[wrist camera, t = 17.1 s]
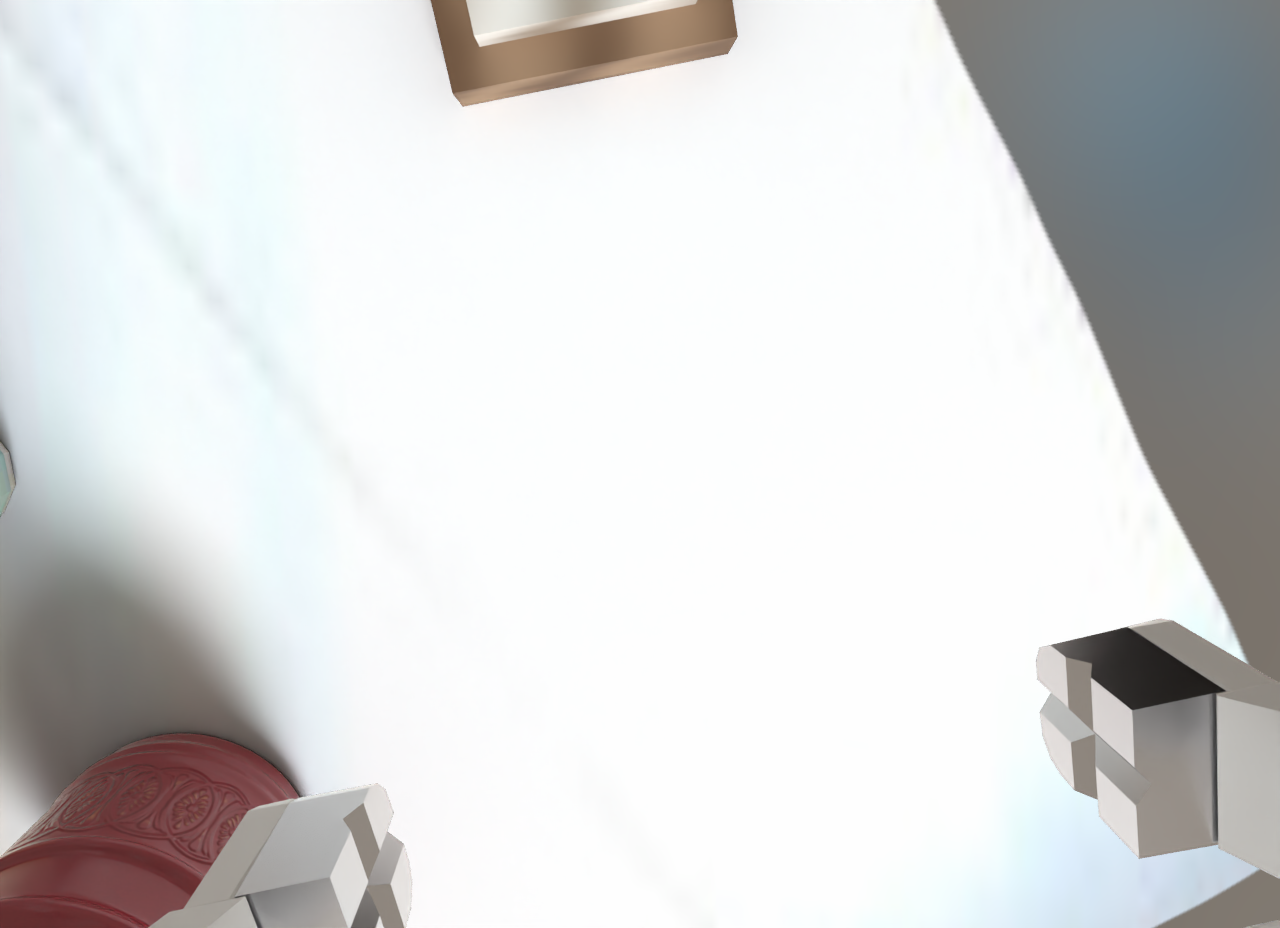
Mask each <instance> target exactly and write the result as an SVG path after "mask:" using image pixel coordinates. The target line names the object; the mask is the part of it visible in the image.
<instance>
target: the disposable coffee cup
mask: <svg viewBox="0 0 1280 928" xmlns="http://www.w3.org/2000/svg"><path fill="white" fill-rule="evenodd" d="M15 485H16V483H15V479H14V474H13V469H12V464H11V460H10V455H9V452H8V450H7V449H6V448H5V447H4V446H3V444H2V443H1V442H0V517H1V514H3V513H4V511H5V509H6V507H7V504H8V502H9V499H10V497H11V495H12V492H13V490H14V488H15Z"/></svg>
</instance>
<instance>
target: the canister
mask: <svg viewBox="0 0 1280 928" xmlns="http://www.w3.org/2000/svg"><path fill="white" fill-rule="evenodd" d="M298 798H299V796H298V794H297V793H296V791H295V790H294V788H293V787H292V785H291V784H290V783H289V782H288V780H287V779H286V778H285V777H284V776H283V775H282V774H281V773H280V772H279V771H278V770H277V769H276V768H275V767H274V766H272V765H271V764H270V763H269V762H267V761H266V760H265V759H263V758H262V757H260V756H259V755H257V754H255V753H254V752H252V751H250V750H248V749H246V748H244V747H242V746H240V745H237V744H235V743H232V742H229V741H227V740H223V739H220V738H216V737H211V736H206V735H199V734H188V733H176V734H164V735H157V736H152V737H148V738H144V739H141V740H138V741H135V742H132V743H130V744H128V745H126V746H124V747H122V748H120V749H118V750H116V751H115V752H113V753H112V754H110V755H109V756H107V757H105V758H103V759H101V760H99V761H98V762H96V763H95V764H93V765H92V766H90V767H89V768H88V769H86V770H85V771H84V772H82V773H81V774H80V775H79V776H78V777H77V778H76V779H75V780H74V781H73V782H72V783H71V784H70V785H69V786H67V787H66V788H65V789H64V790H63V792H62V793H61V794H60V795H59V796H58V798H57V799H56V800H55V802H54V803H53V804H52V806H51V808H50V809H49V810H48V811H47V812H46V813H45V814H44V815H43V816H42V817H41V818H40V819H39V820H38V821H37V822H36V823H35V824H34V825H33V826H32V827H31V828H30V829H29V830H28V831H27V832H26V833H24V834H23V835H22V836H21V837H20V838H19V839H18V840H17V841H16V842H15V843H14V844H13V845H12V846H11V847H10V848H9V849H8V850H7V851H6V852H5V853H4V854H3V855H2V856H1V857H0V928H148V927H150V926H151V925H152V924H154V923H155V922H156V921H158V920H159V919H160V918H162V917H163V916H164V915H166V914H167V913H168V912H171V911H176V910H180V909H183V908H184V907H185V905H186V904H187V902H188V901H189V899H190V898H191V896H192V895H193V893H194V892H195V890H196V889H197V887H198V886H199V884H200V883H201V881H202V880H203V878H204V877H205V875H206V874H207V872H208V871H209V869H210V868H211V866H212V865H213V863H214V862H215V860H216V859H217V857H218V856H219V854H220V853H221V851H222V850H223V848H224V846H225V845H226V843H227V842H228V840H229V839H230V837H231V836H232V834H233V833H234V831H235V830H236V828H237V827H238V825H239V824H240V822H241V821H242V819H243V818H244V816H245V815H246V813H247V812H248V811H249V810H251V809H253V808H256V807H258V806H261V805H266V804H270V803H275V802H279V801H284V800H288V799H298Z"/></svg>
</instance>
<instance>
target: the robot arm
mask: <svg viewBox="0 0 1280 928" xmlns="http://www.w3.org/2000/svg"><path fill="white" fill-rule="evenodd" d="M1036 666H1037V679H1038V680H1039V681H1040V682H1041V683H1042V684H1043V685H1044V686H1045V687H1046V688H1047V689H1048V690H1049V691H1050V692H1051V694H1050V695H1049V697H1048V699H1047V700H1046V702H1045V704H1044V706H1043V707H1042V709H1041V711H1040V717H1041V726H1042V735H1043V739H1044V741H1045V744H1046V747H1047V749H1048V752H1049V755H1050V758H1051V760H1052V761H1053V763H1054V765H1055V766H1056V768H1057V770H1058V771H1059V773H1060V774H1061V776H1062V777H1063V778H1064V779H1065V780H1066V781H1067V782H1068V784H1069V785H1070V786H1071V787H1072V788H1073V789H1074V790H1075V791H1078V792H1080V793H1083V794H1085V795H1088V796H1090V797H1093V798H1095V799H1098V809H1099V817H1100V818H1101V819H1102V820H1103V821H1104V822H1105V823H1106V824H1107V825H1108V826H1109V827H1110V829H1111V830H1112V831H1113V832H1114V833H1115V834H1116V835H1117V836H1118V837H1119V838H1120V839H1121V840H1122V841H1123V842H1124V843H1125V844H1126V845H1127V846H1128V848H1129V849H1130V850H1131V851H1132V852H1133V853H1134V854H1135V855H1136V856H1137V857H1138V858H1139V859H1140V858H1145V857H1151V856H1157V855H1162V854H1168V853H1173V852H1179V851H1185V850H1190V849H1196V848H1201V847H1207V846H1213V845H1218V848H1219V849H1221V850H1223V851H1225V852H1227V853H1229V854H1231V855H1233V856H1235V857H1237V858H1239V859H1241V860H1243V861H1245V862H1247V863H1249V864H1251V865H1253V866H1255V867H1257V868H1259V869H1261V870H1263V871H1265V872H1267V873H1269V874H1271V875H1273V876H1275V877H1277V878H1279V879H1280V681H1275V680H1273V679H1272V678H1270V677H1268V676H1267V675H1265V674H1263V673H1262V672H1260V671H1258V670H1256V669H1255V668H1253V667H1251V666H1250V665H1248V664H1246V663H1244V662H1243V661H1241V660H1239V659H1238V658H1236V657H1234V656H1232V655H1231V654H1229V653H1227V652H1226V651H1224V650H1222V649H1221V648H1219V647H1217V646H1215V645H1214V644H1212V643H1210V642H1209V641H1207V640H1205V639H1203V638H1202V637H1200V636H1198V635H1197V634H1195V633H1193V632H1192V631H1190V630H1188V629H1186V628H1185V627H1183V626H1181V625H1180V624H1178V623H1176V622H1174V621H1172V620H1166V619H1156V620H1152V621H1148V622H1144V623H1140V624H1136V625H1132V626H1128V627H1124V628H1120V629H1117V630H1113V631H1108V632H1104V633H1100V634H1096V635H1091V636H1087V637H1083V638H1079V639H1074V640H1070V641H1066V642H1062V643H1057V644H1053V645H1049V646H1044V647H1040V648H1039V651H1038V655H1037V659H1036ZM393 814H394V812H393V809H392V806H391V803H390V800H389V798H388V795H387V792H386V789H384V788H383V787H382V786H380V785H379V784H378V783H376V784H370V785H365V786H359V787H354V788H349V789H343V790H338V791H333V792H327V793H322V794H316V795H311V796H306V797H300V798H298V799H288V800H284V801H279V802H275V803H270V804H266V805H261V806H258V807H256V808H253V809H251V810H249V811H248V812H247V813H246V815H245V816H244V818H243V819H242V821H241V822H240V824H239V825H238V827H237V828H236V830H235V831H234V833H233V834H232V836H231V837H230V839H229V840H228V842H227V843H226V845H225V846H224V848H223V850H222V851H221V853H220V854H219V856H218V857H217V859H216V860H215V862H214V863H213V865H212V866H211V868H210V869H209V871H208V872H207V874H206V875H205V877H204V878H203V880H202V881H201V883H200V884H199V886H198V887H197V889H196V890H195V892H194V893H193V895H192V896H191V898H190V899H189V901H188V902H187V904H186V905H185V907H184V908H183V909H180V910H176V911H171V912H168V913H167V914H166V915H164V916H163V917H162V918H160V919H159V920H158V921H156V922H155V923H154V924H152V925H151V926H150V927H148V928H406V925H407V921H408V918H409V914H410V910H411V896H412V877H411V871H410V864H409V859H408V856H407V853H406V849H405V846H404V844H403V843H402V842H401V841H399V840H398V839H397V838H395V837H394V836H393V835H391V834H390V833H389V832H387V830H388V827H389V825H390V822H391V819H392V817H393ZM1244 928H1280V920H1277V921H1272V922H1268V923H1263V924H1258V925H1254V926H1249V927H1244Z"/></svg>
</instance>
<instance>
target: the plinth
mask: <svg viewBox="0 0 1280 928" xmlns="http://www.w3.org/2000/svg"><path fill="white" fill-rule="evenodd" d="M431 3H432V7H433V11H434V15H435V20H436V24H437V28H438V33H439V37H440V41H441V45H442V50H443V54H444V58H445V62H446V67H447V71H448V75H449V80H450V84H451V88H452V92H453V94H454V96H455V97H456V98H457V100H458V101H459V102H460V103H461V105H462V106H468V105H473V104H478V103H483V102H488V101H493V100H498V99H503V98H508V97H513V96H518V95H523V94H528V93H533V92H538V91H543V90H548V89H553V88H558V87H563V86H568V85H573V84H578V83H583V82H588V81H594V80H599V79H604V78H609V77H614V76H619V75H624V74H629V73H634V72H639V71H644V70H649V69H654V68H659V67H664V66H669V65H674V64H679V63H684V62H689V61H694V60H699V59H704V58H709V57H714V56H719V55H724V54H728V52H729V51H730V49H731V47H732V45H733V44H734V42H735V40H736V39H737V37H738V36H737V29H736V22H735V16H734V9H733V2H732V0H431Z"/></svg>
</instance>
